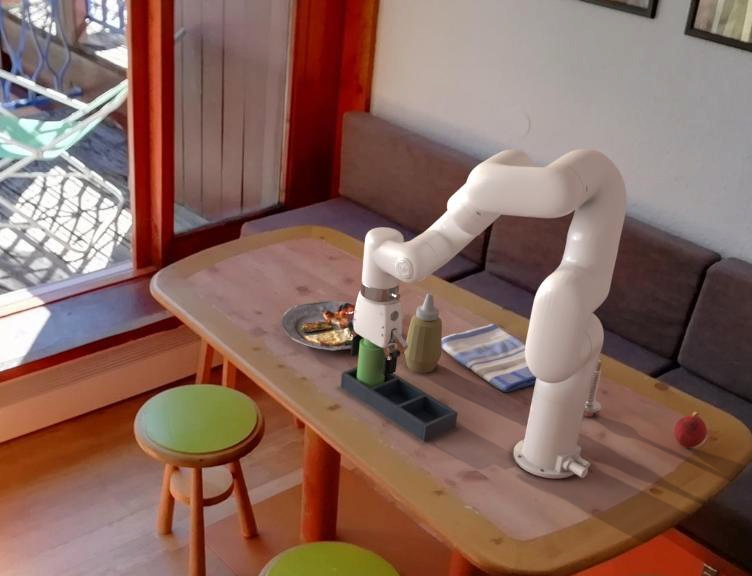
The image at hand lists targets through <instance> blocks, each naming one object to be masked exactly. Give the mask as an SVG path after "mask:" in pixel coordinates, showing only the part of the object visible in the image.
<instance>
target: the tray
mask: <svg viewBox="0 0 752 576" xmlns="http://www.w3.org/2000/svg"><path fill="white" fill-rule="evenodd" d="M357 369H358V366H356V367H352V368H350V369H347V370H345V371H341V375H340V376H341V377H340V389H343V390H344V391H346V392H347V393H349V394H350V395H352V396H354V397H355V398H356V399H358V400H359V401H361V402H363V403H364V404H366V405H367V406H369V407H371V409H373V410H375V411H376V412H378V413H379V414H381V415H382V416H384V417H386V418H388V419H389V420H390V421H392V422H394V423H395V424H397V425H398V426H399V427H400V428H403V429H404V430H406V431H407V432H409V434H411V435H413V436H415V437H416V438H418V439H419V440H421V441H423V442H427V441H429V440H431V439H433V438H435V437H437V436H440V435H442V434H444V433H446V432H448V431H451V430H453V429H455V428H456V426H457V419H458V413H459V412H457V410H455V409H453V408H451V407H450V406H448V405H447V404H445V403H444V402H442V401H440V400H438V399H437V398H435V397H433V396H432V395H430V394H428V393H426V392H425V391H423V390H421V389H420V388H418V387H417V386H415V385H413V384H411V383H410V382H408V381H407V380H405V379H404V378H402V377H400V376H398V375H397V374H396V373H395V372H394V373H392V374H389V375H387V376H385V380H384V383H382V384H379V385H377V386H374V387H372V388H369V387H368V386H366V385H365V384H363V383H361V382H360V381H358V380H357Z"/></svg>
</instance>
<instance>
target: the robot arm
mask: <svg viewBox="0 0 752 576" xmlns="http://www.w3.org/2000/svg"><path fill="white" fill-rule="evenodd" d="M626 188H627V187H626V184H625V180H624V178H623V176H622V173H621V171H620V170H619V168H618V167H617V165H616V164H615V162H613V160H612V159H610V158H609V156H607V155H606V154H605V153H603V152H600V151H598V150H596V149H592V148H579V149H578V148H577V149H575V150H571V151H569V152H567V153H565V154H563V155H561V156H560V157H558V158H557V159H555V160H554V161H552V162H551V163H549V164H547V166H546V165H545V166H535V163H534V161H533V159H532V158H531V157H530V156H529V154H527V153H526V152H523V151H522V150H519V149H505V150H502V151H500V152H498V153H496V154H494V155H492V156H491V157H489V158H487V159H485V160H484V161H482V162H481V163H479V164H478V165H476V166H475V167H474V168H473V169H472V170H471V171H470V173H469V174H468V177H467V179H466V182H465V183H464V184H463V185H461V187H460V188H459V189H458V190H456V192H454V194H452V195H451V196H450V197H449V199H448V200H447V203H446V209H447V210H446V211H445V212H444V213H443V214H442V216H440V217H439V218H438V219H437V220H435V222H433V224H432V225H431V226H429V227H428V228H427V229H426V230H425V231H423V232H422V233H420V234H419V235H417V236H416V237H414V238H413V239H411V240H409V241H408V240H407V241H405V239H404V235H403V233H401V231H399V230H397V229H395V228H391V227H385V226H384V227H383V226H382V227H374V228H372V229H370V230H368V232H367V233H366V234H365V238H364V247H363V259H362V272H361V282H360V283H361V284H360V290H359V292H358V294H357V298H356V302H355V304H356V306H355V311H351V312H348V313H346V318H347V322H348V328H349V330H350V332H351V333H350V337H351V338H352V344H351V349H350V356H351V357H356V356H359V346H360V341H361V339H363V338H366V339H368V340H369V341H370V342H372V343H374V344H376V345H377V346H379V347H381V348H383V350H384V353H385V355H386V358H384V363H383V375H384V376H387V375H389V374H392V373H394V374H395V372H396V371H397V363H398V358H399V357H401V356H403V354H404V351H405V350H406V349H407V347H408V344H407V343H406V339H404V338H403V336H402V335H403V334H402V333H403V308H402V300H401V293H399V292H400V284H401V283H400V282H403V283H406V284H411V285H414V284H418V283H420V282H422V281H424V280H425V279H427V278H428V277H429V276H431V275H432V274H433V273H434V272H436V271H438V270H439V269H440V268H442V267H443V266H445V265H446V264H448V262H450V261H451V260H452V259H453V258H455V256H457V255H458V254H459V253H460V252H461V251H463V250H464V249H465V248H466V247H467V246H468V245H469V244H470V243H471V242H472V241H473V240H474V239H475V238H476V237H478V236H480V235H481V234H482V233H483V232H484V231H485V230H487V228H489V227H490V226H491V225H492V224H493V223H494V222H495V221H497V219H498V218H500V217H501V215H502V216H513V217H523V218H524V217H526V218H538V219H539V218H540V219H558V218H561V217H564V216H568V215H569V214H571V213H572V212H574V213H573V217H572V220H571V222H570V225H569V228H568V231H567V235H566V243H565V248H564V252H563V255H562V259H561V262H560V264H559V266H558V267H557V268H556V269H555V270H554V271H553V272H552V273H551V274H550V275H548V276H546V278H545V279H544V280H542V283H541V284H540V285H539V286H538V288H537V291H536V293H535V296H534V299H533V304H532V308H531V313H530V317H529V324H528V328H527V335H526V340H525V359H526V363H527V366H528V368H529V370H530V371H531V373H532V374H533V375H534V376H535V377H536V383H535V384H534V389H533V393H532V399H531V402H530V403H531V404H530V409H529V414H528V419H527V423H526V424H527V425H526V429H525V434H524V439H522V440H520V441H518V442H517V443H516V444H515V446H514V448H513V458H514V460H515V462H516V463H517V465H518V466H519V467H520V468H521V469H523V470H524V471H526V472H528V473H530V474H532V475H534V476H537V477H541V478H546V479H557V480H558V479H565V478H566V479H567V478H569V477H573V476H574V475H577V477H579V478H582V479H584V478H585V477H586V476H587V475H588V473H589V468H590V466H591V462H590V461H588V460H586V459H584V458H582V455H581V453H582V447H581V446H579V445H578V441H579V436H580V432H581V431H580V430H581V428H582V427H581V426H582V423H583V417H584V415H583V414H584V409H585V405H586V400H587V397H588V393H589V389H590V384H591V380H592V377H593V373H594V370H595V367H596V364H597V361H598V359H600V355H601V352H602V348H603V345H604V340H605V339H604V337H605V334H604V332H605V331H604V328H603V324H602V322H601V320H600V319H599V317H598V316H597V315H596V314H595V313H594V312H595V311H596V310H597V309H598V308H599V307H600V306H601V305H602V304H603V303H604V302H605V300H606V299H607V298H608V296H609V293H610V290H611V285H612V279H613V275H614V269H615V265H616V261H617V257H618V252H619V246H620V240H621V236H622V231H623V228H624V227H623V226H624V223H625V218H626V212H627V198H628V197H627V189H626ZM390 347H391V350H392V351H391V350H390Z"/></svg>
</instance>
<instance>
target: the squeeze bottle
mask: <svg viewBox="0 0 752 576" xmlns="http://www.w3.org/2000/svg"><path fill="white" fill-rule="evenodd" d="M434 301H435V300H434V294H433V292H427V293H426V295H425V298H424V301H423V304H421V305H419V306H417V308H416V313H415V314H414V315H413V316H412V317H411V318H410V323H409V327H408V332H407V336H406V339H405V341H406V343H407V344H408V347H407V349H406V350H405V351H404V353H403V354H404V357H405V362H406V366H407V368H408V369H409V370H410V371H412V372H415V373H419V374H420V373H421V374H427V373H430V372H431V373H432V371H434V370H435V368H436V366H437V364H438V363H439V361H440V359H441V356H442V348H441V342H442V338H443V335H442V333H443V330H442V329H443V321H442V319H441V317H439V313H440V310H439V308H438V307H437V306H435V303H434Z"/></svg>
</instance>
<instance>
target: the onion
mask: <svg viewBox="0 0 752 576" xmlns="http://www.w3.org/2000/svg"><path fill="white" fill-rule="evenodd" d="M699 416H700V414H699V412H697V411H693V413H691V415H686V416H684V417H681V418H680V419H679V420H678V421H677V422H676V424H675V426H674V427H673V434H674V438H675V440H676V441H677V443H678V444H679V445H680V446H682V447H683V448H686V449H688V448H694V447H697V446H699V445H701V444H702V443H703V442H704V441H705V439H706V437H707V426H706V424H705V422H704V420H703V419H702V418H701V417H699Z"/></svg>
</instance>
